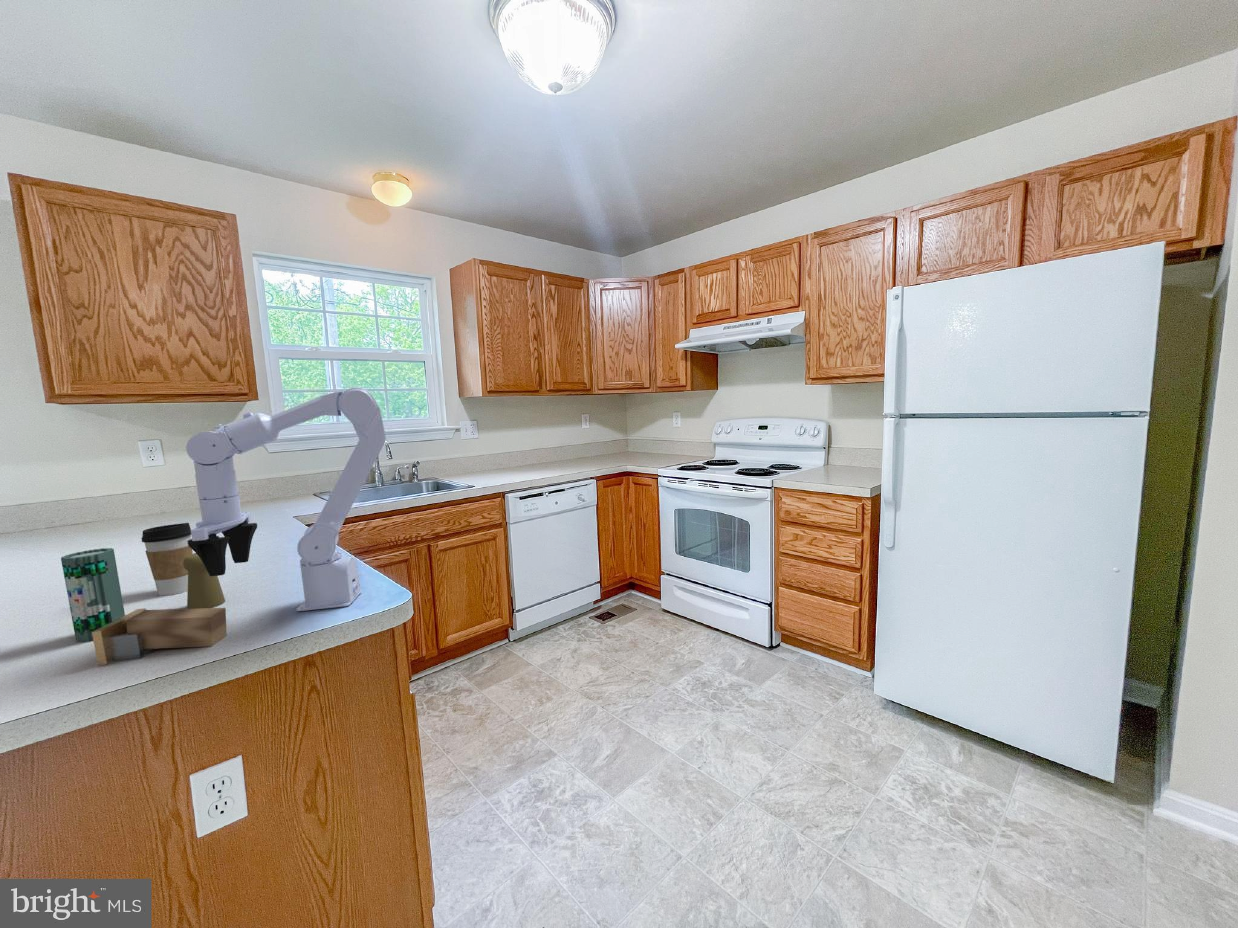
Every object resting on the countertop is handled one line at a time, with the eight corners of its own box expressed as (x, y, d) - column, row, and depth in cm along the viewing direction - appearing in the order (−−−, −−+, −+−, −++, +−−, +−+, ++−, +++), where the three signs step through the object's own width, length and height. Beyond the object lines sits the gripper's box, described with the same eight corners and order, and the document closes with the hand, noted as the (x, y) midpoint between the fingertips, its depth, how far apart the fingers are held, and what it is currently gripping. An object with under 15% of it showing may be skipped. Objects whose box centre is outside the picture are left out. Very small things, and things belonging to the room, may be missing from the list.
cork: (203, 611, 96) (195, 557, 95) (179, 610, 98) (170, 557, 96) (232, 599, 102) (225, 548, 101) (209, 598, 103) (202, 548, 102)
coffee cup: (177, 597, 105) (167, 529, 103) (139, 598, 105) (128, 531, 104) (210, 583, 114) (201, 520, 112) (175, 584, 114) (165, 521, 112)
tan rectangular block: (226, 635, 85) (225, 607, 85) (212, 646, 81) (210, 617, 81) (147, 638, 83) (145, 609, 82) (128, 649, 79) (126, 619, 78)
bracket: (176, 635, 86) (171, 605, 85) (136, 660, 77) (130, 627, 76) (142, 639, 85) (137, 608, 84) (97, 665, 76) (91, 632, 76)
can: (66, 641, 85) (51, 558, 84) (104, 626, 91) (91, 548, 90) (99, 641, 85) (84, 557, 83) (135, 625, 91) (122, 547, 89)
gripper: (218, 492, 96) (228, 559, 97) (165, 506, 81) (178, 584, 83) (258, 489, 97) (268, 555, 99) (213, 502, 83) (225, 579, 84)
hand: (229, 568), depth 91 cm, fingers open, 7 cm apart
